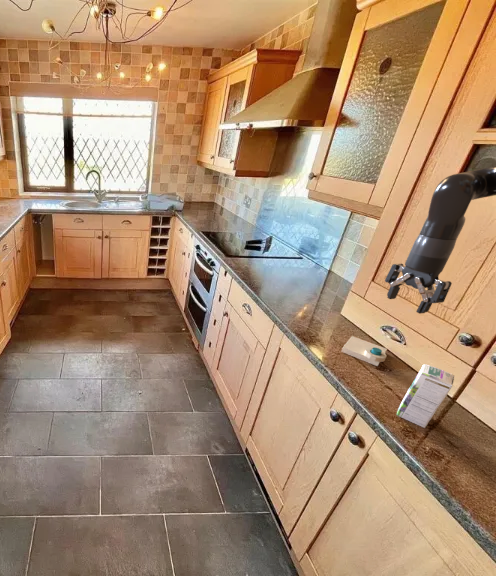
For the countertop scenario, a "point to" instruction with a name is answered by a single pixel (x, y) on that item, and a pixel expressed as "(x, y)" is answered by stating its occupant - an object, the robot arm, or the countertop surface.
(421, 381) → the syrup box
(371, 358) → the scale
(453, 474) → the countertop surface
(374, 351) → the tare button
